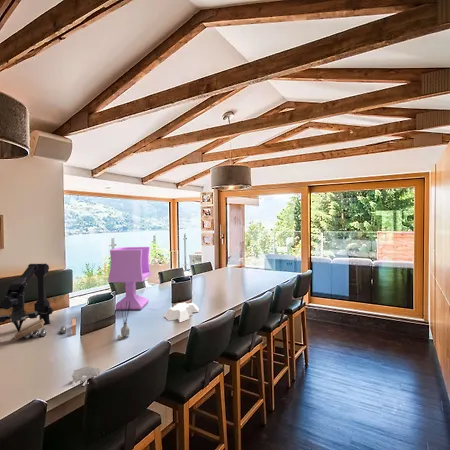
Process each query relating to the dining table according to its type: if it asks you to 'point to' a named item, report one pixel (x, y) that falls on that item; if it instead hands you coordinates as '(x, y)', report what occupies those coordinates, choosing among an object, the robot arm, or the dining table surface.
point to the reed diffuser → (124, 325)
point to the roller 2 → (43, 332)
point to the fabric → (84, 374)
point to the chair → (130, 273)
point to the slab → (29, 329)
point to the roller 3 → (63, 329)
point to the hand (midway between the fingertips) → (18, 331)
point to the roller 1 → (27, 336)
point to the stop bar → (74, 326)
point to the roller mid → (35, 334)
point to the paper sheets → (181, 311)
